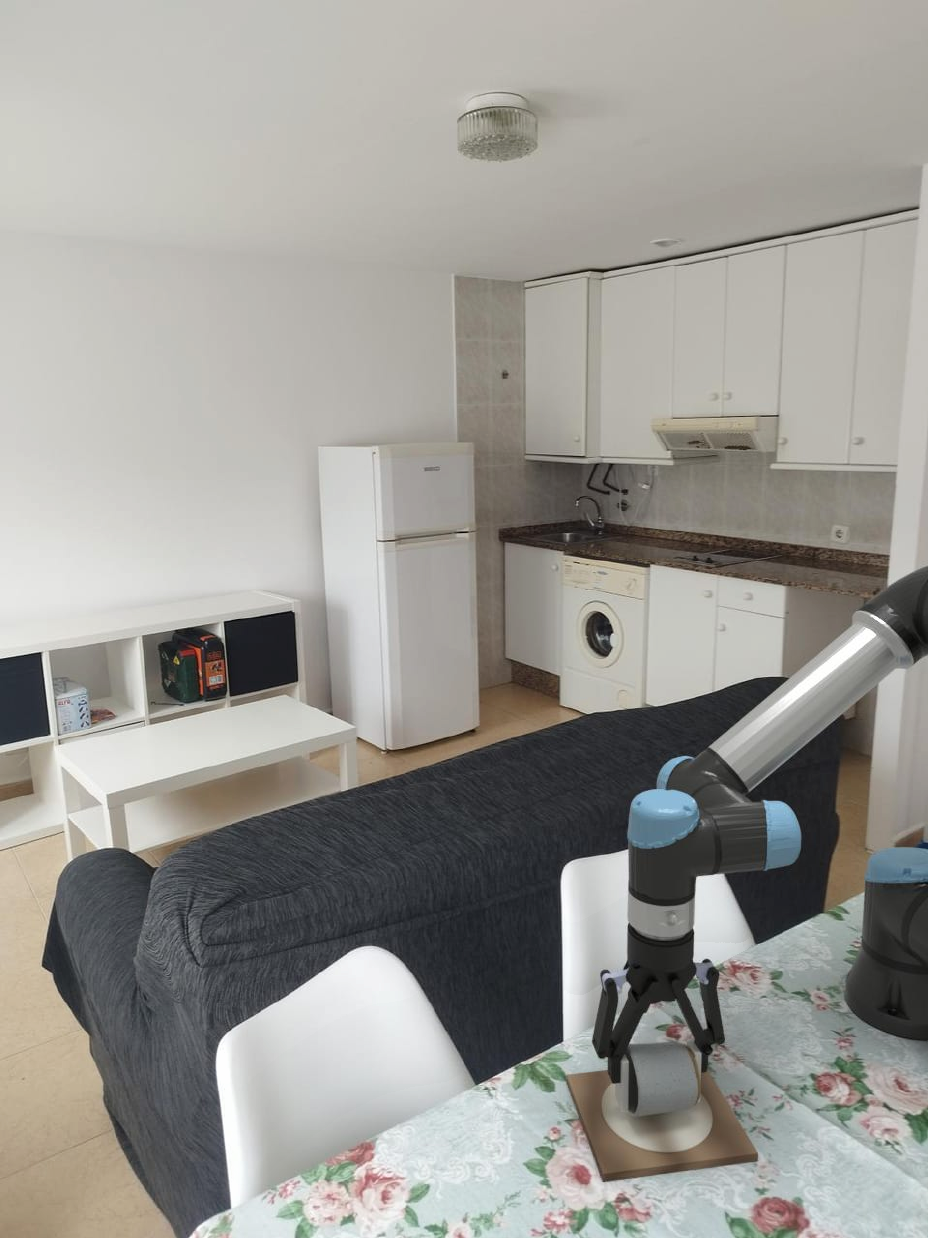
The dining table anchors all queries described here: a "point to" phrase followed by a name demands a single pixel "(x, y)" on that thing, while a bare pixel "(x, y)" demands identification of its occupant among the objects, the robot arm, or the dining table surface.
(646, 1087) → the ceramic mug
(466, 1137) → the dining table surface
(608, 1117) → the board
